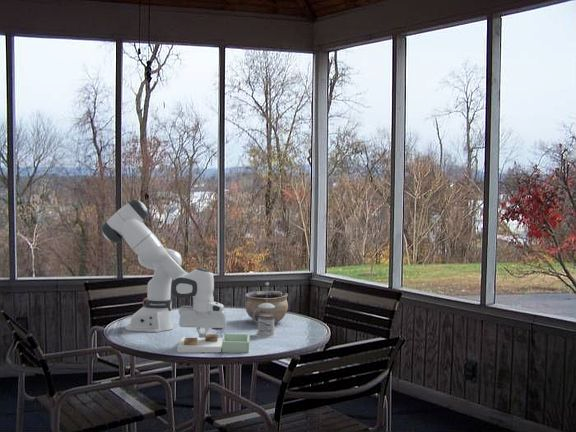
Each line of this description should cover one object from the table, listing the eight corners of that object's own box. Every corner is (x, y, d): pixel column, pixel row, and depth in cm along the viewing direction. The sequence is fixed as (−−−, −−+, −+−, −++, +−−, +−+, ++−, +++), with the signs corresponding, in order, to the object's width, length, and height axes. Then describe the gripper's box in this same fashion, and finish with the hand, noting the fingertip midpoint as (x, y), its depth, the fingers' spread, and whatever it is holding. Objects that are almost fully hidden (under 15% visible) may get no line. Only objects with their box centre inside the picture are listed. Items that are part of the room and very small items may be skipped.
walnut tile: (205, 341, 277) (205, 336, 277) (206, 338, 282) (206, 334, 282) (217, 341, 277) (217, 337, 277) (218, 338, 282) (218, 334, 282)
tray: (222, 352, 269) (222, 341, 269) (224, 343, 284) (224, 333, 284) (248, 352, 269) (248, 342, 269) (249, 344, 284) (249, 334, 284)
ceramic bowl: (294, 326, 324) (294, 296, 323) (252, 328, 316) (253, 298, 315) (278, 317, 344) (279, 289, 344) (239, 319, 336) (240, 290, 336)
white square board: (177, 352, 268) (177, 346, 268) (182, 342, 284) (182, 337, 284) (220, 352, 268) (220, 346, 268) (223, 343, 284) (223, 337, 284)
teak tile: (184, 345, 270) (184, 340, 270) (185, 342, 275) (185, 337, 275) (196, 345, 270) (196, 340, 270) (197, 342, 275) (197, 337, 275)
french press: (271, 338, 295) (273, 284, 294) (248, 336, 299) (249, 282, 298) (279, 334, 305) (280, 281, 304) (256, 331, 309) (258, 280, 308)
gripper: (178, 306, 275) (177, 338, 276) (226, 307, 276) (225, 339, 276) (180, 303, 281) (179, 335, 282) (227, 305, 282) (226, 336, 282)
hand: (202, 337), depth 279 cm, fingers closed
